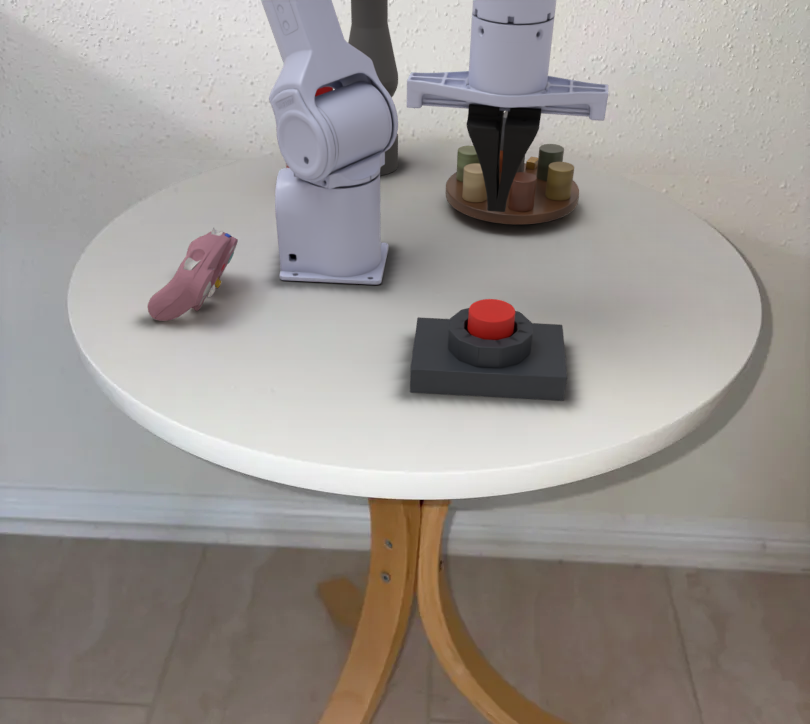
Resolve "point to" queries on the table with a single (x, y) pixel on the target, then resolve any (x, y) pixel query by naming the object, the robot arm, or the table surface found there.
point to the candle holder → (376, 54)
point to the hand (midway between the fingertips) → (497, 206)
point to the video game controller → (194, 276)
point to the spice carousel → (516, 187)
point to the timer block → (488, 360)
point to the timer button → (491, 319)
